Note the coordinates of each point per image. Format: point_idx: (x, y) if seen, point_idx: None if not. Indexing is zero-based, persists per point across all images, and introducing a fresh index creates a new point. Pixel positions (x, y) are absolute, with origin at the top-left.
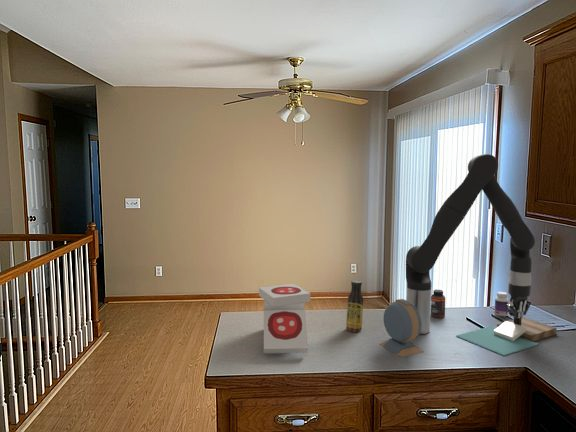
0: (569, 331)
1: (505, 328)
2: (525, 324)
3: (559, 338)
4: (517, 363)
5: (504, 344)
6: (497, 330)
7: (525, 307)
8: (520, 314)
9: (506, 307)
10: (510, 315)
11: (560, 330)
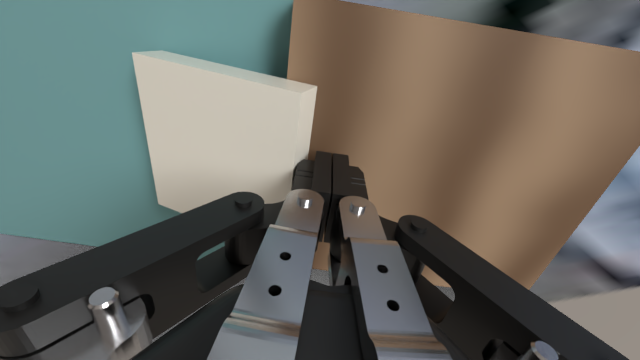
0: (596, 288)
1: (203, 133)
2: (464, 169)
3: (442, 289)
4: (12, 280)
5: (92, 180)
6: (151, 86)
7: (451, 335)
8: (328, 265)
9: (36, 281)
10: (236, 196)
11: (589, 262)
